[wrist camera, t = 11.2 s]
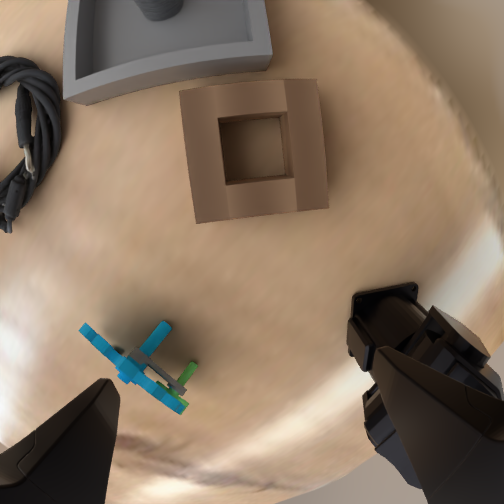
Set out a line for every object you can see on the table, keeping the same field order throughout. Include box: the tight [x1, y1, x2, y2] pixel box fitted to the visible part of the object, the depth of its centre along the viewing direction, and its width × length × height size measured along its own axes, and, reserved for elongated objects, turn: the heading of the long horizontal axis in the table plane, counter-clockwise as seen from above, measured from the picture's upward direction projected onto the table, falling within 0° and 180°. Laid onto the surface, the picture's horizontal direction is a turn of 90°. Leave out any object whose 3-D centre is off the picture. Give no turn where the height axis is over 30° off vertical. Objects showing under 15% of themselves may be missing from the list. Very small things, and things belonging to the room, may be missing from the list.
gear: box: [79, 321, 198, 415], centre depth 21 cm, size 11×6×10 cm
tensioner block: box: [179, 79, 329, 224], centre depth 17 cm, size 8×8×3 cm
